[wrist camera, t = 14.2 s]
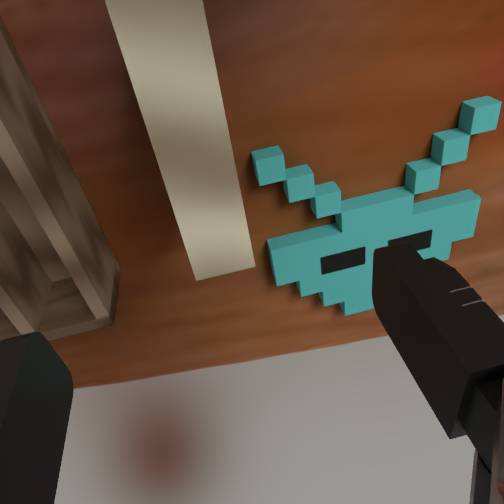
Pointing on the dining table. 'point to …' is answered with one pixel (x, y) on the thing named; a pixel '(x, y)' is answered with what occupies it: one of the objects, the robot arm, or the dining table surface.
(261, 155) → the alien figure
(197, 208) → the birch panel
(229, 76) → the dining table surface
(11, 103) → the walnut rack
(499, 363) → the robot arm
